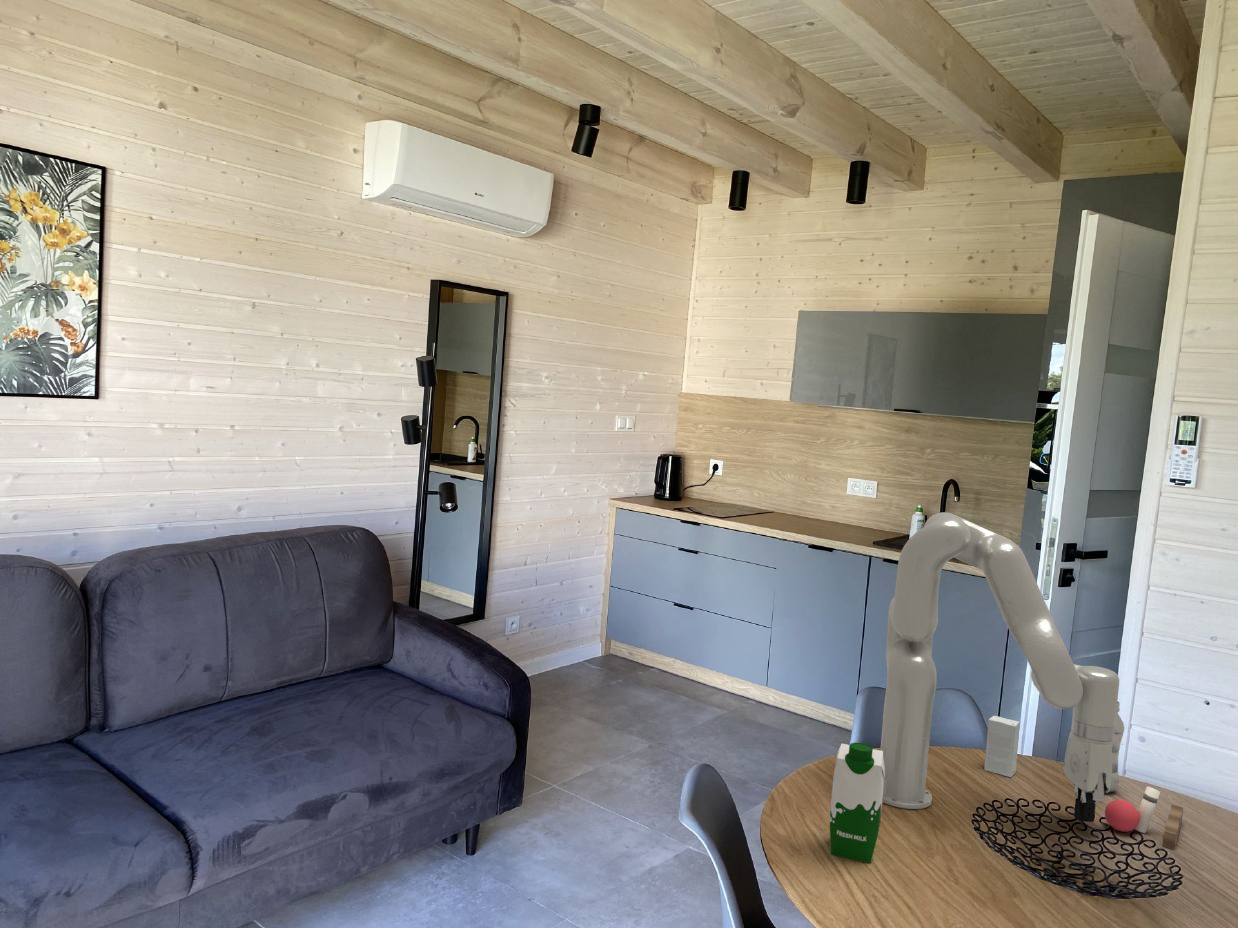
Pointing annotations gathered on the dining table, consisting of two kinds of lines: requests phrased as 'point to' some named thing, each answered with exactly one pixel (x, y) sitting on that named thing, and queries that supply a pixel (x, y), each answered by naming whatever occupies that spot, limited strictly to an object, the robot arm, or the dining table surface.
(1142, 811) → the pin
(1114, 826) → the ball
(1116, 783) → the plastic bottle
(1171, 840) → the board
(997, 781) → the dining table surface
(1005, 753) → the skincare box
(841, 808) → the milk carton
